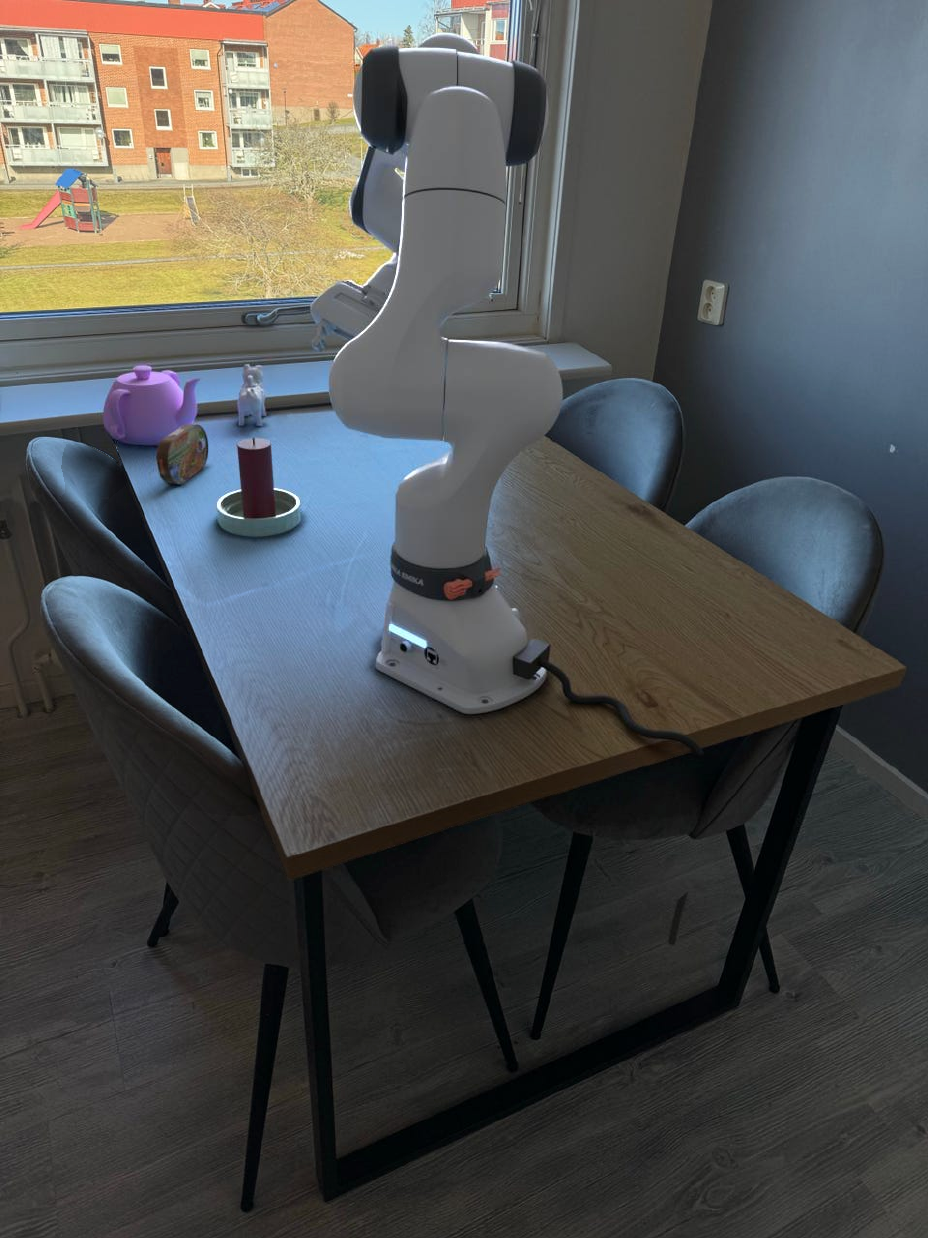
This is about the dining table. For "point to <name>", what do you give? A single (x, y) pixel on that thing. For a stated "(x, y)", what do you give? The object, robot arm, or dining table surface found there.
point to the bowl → (237, 524)
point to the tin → (182, 454)
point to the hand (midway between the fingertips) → (336, 359)
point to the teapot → (148, 406)
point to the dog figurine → (251, 395)
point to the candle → (256, 478)
